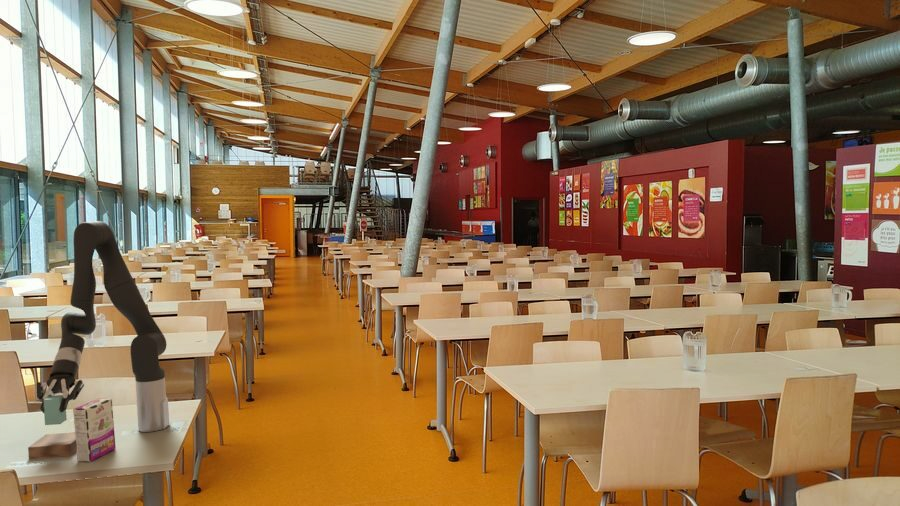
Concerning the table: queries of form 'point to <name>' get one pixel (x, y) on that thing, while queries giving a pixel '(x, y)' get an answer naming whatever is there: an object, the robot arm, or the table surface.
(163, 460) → the table surface
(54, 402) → the teal pillar block
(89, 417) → the candy bar box
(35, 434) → the table surface
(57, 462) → the table surface
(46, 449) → the walnut block
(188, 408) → the table surface
